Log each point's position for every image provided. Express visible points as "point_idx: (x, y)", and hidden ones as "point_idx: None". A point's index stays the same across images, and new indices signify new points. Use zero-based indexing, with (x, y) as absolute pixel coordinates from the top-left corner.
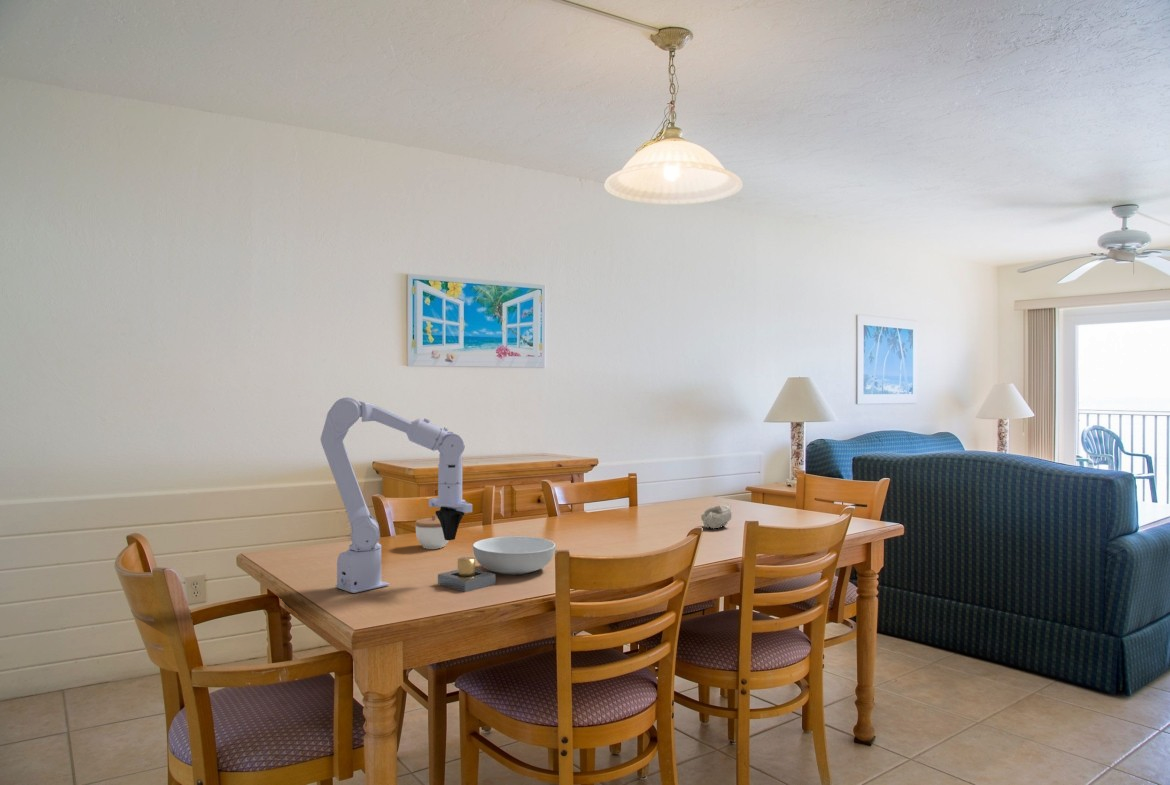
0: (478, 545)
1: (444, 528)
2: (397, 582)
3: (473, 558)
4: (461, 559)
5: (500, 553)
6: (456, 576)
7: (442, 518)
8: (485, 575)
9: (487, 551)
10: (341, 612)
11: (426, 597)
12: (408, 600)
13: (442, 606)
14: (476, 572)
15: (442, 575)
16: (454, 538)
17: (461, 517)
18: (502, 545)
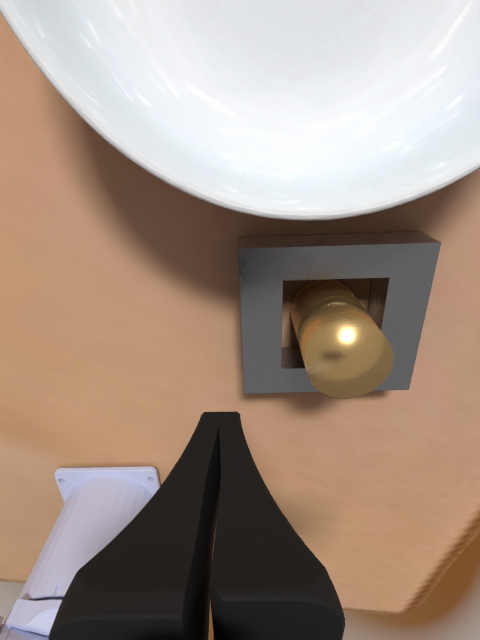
0: (53, 39)
1: (213, 530)
2: (129, 432)
3: (370, 335)
4: (338, 383)
5: (461, 177)
6: None
7: (207, 632)
8: (417, 288)
9: (359, 214)
10: None
11: (340, 460)
12: (325, 495)
13: (443, 475)
14: (340, 278)
15: (271, 392)
16: (239, 419)
17: (300, 544)
18: None
